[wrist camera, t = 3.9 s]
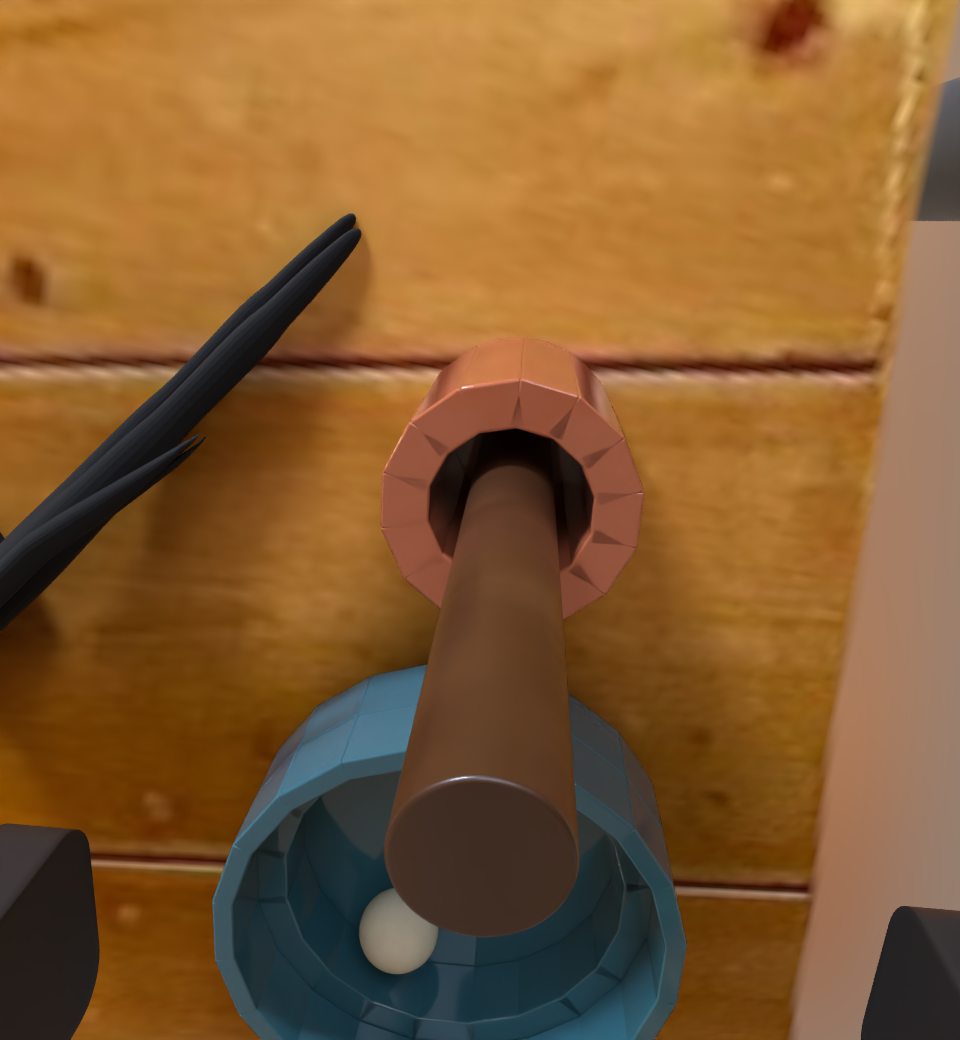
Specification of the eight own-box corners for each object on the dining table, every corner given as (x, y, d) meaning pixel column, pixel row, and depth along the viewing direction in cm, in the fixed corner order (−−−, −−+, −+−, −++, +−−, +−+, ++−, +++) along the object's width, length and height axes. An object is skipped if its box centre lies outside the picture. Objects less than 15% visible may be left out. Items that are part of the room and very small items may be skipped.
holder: (625, 342, 28) (658, 388, 20) (602, 535, 30) (625, 641, 23) (424, 328, 28) (384, 368, 21) (416, 520, 30) (377, 621, 23)
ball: (444, 873, 34) (435, 932, 32) (440, 934, 35) (432, 996, 33) (367, 866, 34) (352, 924, 32) (366, 927, 35) (351, 989, 33)
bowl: (685, 674, 32) (718, 774, 26) (634, 1002, 37) (652, 1146, 31) (261, 639, 32) (203, 729, 27) (268, 967, 37) (220, 1101, 32)
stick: (553, 408, 28) (590, 787, 9) (547, 474, 29) (569, 949, 10) (484, 403, 28) (385, 769, 10) (480, 468, 29) (380, 931, 10)
